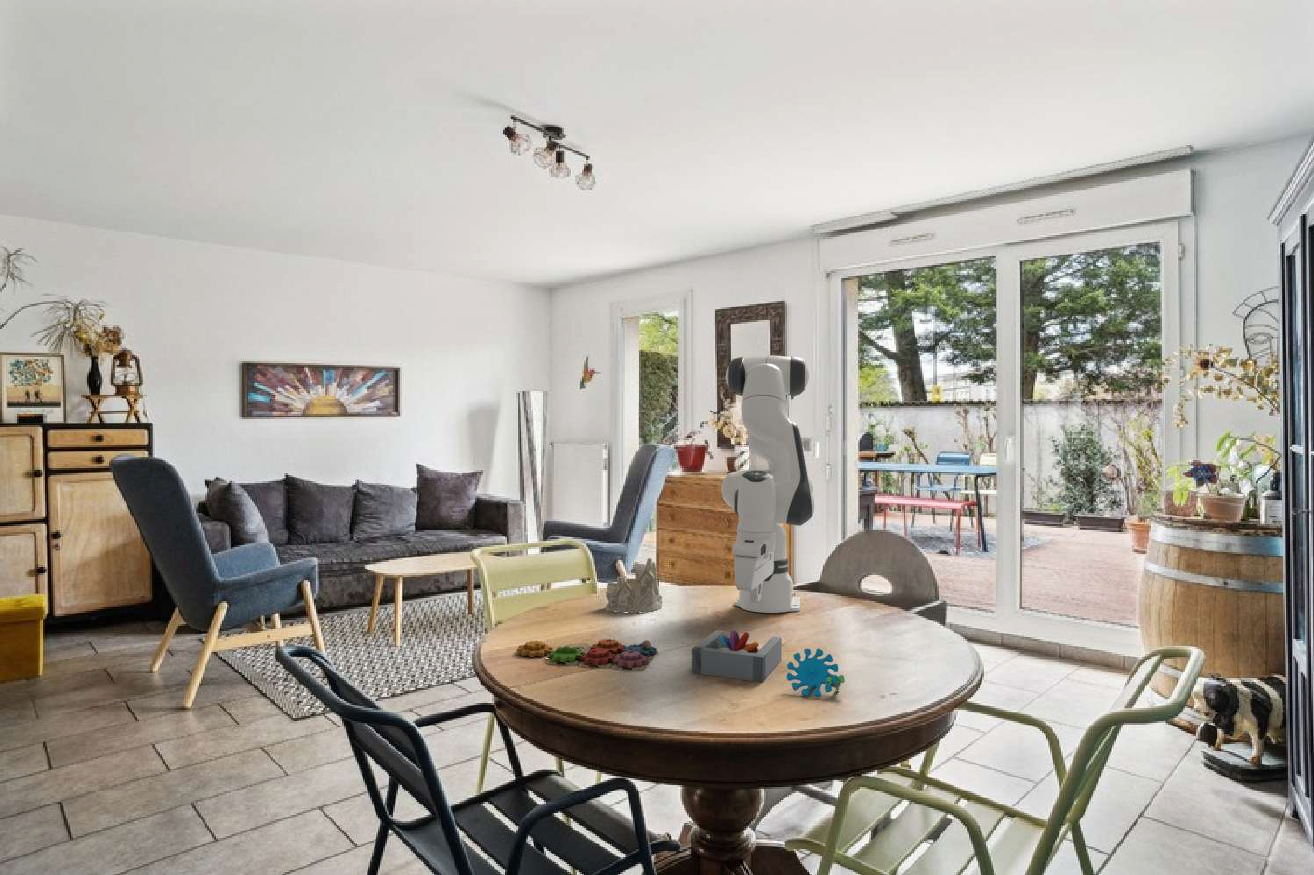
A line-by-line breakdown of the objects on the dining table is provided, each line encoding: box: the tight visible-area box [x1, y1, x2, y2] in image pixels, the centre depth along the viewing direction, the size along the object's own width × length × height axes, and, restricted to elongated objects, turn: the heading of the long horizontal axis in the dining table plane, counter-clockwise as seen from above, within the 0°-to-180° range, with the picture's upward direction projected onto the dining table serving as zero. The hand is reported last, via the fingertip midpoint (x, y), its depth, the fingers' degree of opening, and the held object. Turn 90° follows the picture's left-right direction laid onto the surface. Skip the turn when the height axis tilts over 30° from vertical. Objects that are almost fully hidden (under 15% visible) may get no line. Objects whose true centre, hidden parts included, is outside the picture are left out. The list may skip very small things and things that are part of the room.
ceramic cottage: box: [605, 557, 663, 614], centre depth 218 cm, size 16×16×15 cm
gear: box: [786, 648, 846, 698], centre depth 149 cm, size 11×6×10 cm
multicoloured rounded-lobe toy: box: [717, 629, 760, 653], centre depth 165 cm, size 8×10×7 cm
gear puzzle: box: [516, 638, 659, 672], centre depth 171 cm, size 31×16×4 cm, turn 77°
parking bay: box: [691, 630, 783, 683], centre depth 163 cm, size 16×15×5 cm
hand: (755, 601), depth 178 cm, fingers closed
